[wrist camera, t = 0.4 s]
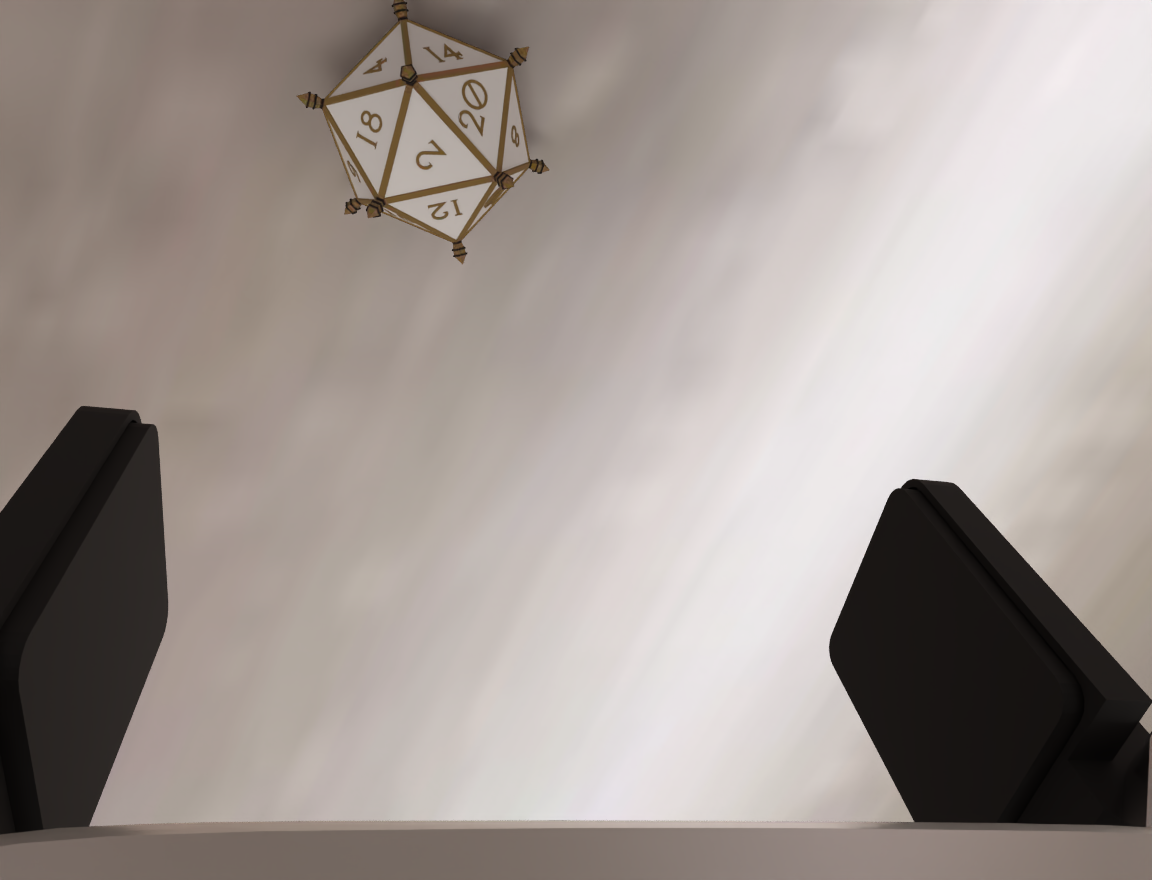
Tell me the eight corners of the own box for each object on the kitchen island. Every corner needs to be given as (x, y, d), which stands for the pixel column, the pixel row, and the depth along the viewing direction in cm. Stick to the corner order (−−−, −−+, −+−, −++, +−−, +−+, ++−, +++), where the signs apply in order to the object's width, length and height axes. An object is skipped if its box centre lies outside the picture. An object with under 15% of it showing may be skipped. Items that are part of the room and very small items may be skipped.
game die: (404, 61, 40) (345, -99, 30) (580, 134, 39) (580, -5, 29) (318, 240, 39) (228, 136, 29) (497, 316, 38) (468, 238, 28)
